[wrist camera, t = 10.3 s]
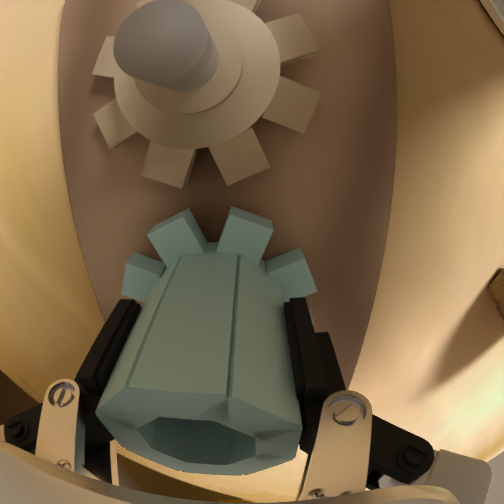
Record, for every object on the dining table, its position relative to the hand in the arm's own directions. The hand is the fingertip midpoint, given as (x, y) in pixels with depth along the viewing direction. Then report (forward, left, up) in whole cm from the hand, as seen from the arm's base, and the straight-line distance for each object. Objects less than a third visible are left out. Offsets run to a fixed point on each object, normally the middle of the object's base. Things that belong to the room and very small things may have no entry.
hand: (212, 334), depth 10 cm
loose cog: (0, 0, -2) cm, 2 cm away
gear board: (0, -4, -4) cm, 6 cm away
